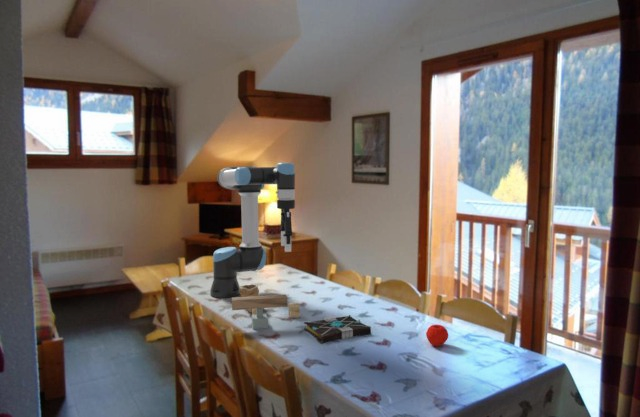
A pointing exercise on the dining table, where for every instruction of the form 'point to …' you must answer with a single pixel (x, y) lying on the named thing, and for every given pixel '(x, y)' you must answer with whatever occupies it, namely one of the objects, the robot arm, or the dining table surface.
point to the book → (337, 328)
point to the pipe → (249, 292)
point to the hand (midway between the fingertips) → (286, 248)
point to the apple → (437, 335)
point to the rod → (259, 302)
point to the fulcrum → (259, 319)
